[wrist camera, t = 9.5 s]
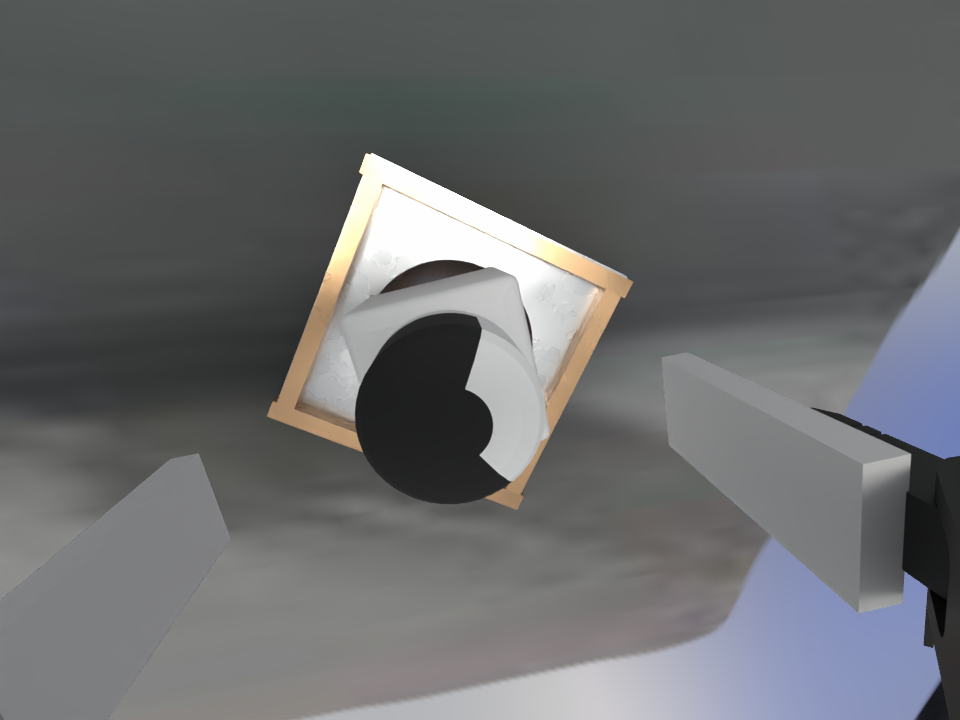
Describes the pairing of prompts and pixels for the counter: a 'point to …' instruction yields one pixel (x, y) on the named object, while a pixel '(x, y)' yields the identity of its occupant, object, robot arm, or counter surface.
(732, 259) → the counter surface
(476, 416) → the container
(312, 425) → the wooden square frame
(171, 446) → the counter surface
